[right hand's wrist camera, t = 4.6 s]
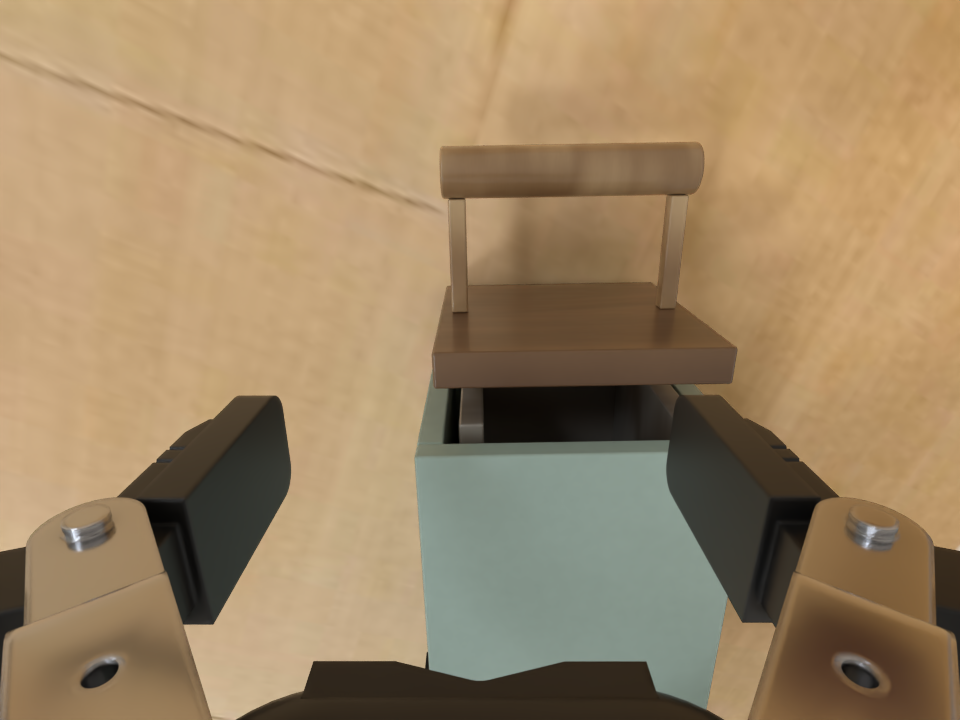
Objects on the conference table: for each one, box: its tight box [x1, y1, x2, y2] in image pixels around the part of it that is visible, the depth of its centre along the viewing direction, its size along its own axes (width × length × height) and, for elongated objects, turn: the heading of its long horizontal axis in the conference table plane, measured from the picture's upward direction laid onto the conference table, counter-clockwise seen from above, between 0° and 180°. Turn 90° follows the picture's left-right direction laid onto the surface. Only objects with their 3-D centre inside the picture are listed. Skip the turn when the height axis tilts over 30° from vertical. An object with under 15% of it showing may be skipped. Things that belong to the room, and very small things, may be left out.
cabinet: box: [415, 369, 728, 709], centre depth 25 cm, size 20×10×10 cm, turn 1°
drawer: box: [432, 142, 737, 444], centre depth 23 cm, size 24×9×9 cm, turn 1°
